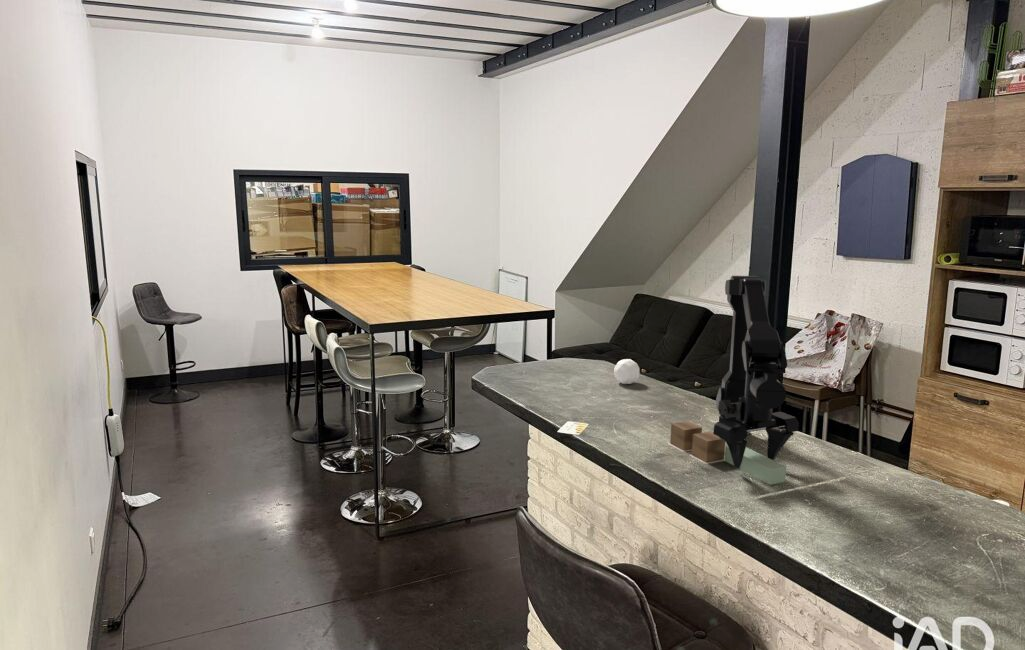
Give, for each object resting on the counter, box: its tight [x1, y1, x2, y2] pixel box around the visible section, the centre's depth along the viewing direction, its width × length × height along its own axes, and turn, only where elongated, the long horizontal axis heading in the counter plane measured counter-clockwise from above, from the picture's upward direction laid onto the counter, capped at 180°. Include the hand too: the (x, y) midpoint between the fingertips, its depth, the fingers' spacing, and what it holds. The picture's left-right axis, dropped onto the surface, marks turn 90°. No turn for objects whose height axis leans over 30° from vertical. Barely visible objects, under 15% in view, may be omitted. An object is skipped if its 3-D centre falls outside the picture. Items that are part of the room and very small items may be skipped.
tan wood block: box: [691, 431, 726, 463], centre depth 156 cm, size 5×5×5 cm
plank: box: [724, 445, 787, 485], centre depth 149 cm, size 4×14×4 cm, turn 23°
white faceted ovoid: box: [613, 358, 640, 385], centre depth 220 cm, size 8×8×12 cm
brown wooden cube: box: [669, 420, 703, 451], centre depth 163 cm, size 5×5×5 cm
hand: (753, 464), depth 149 cm, fingers open, 9 cm apart
